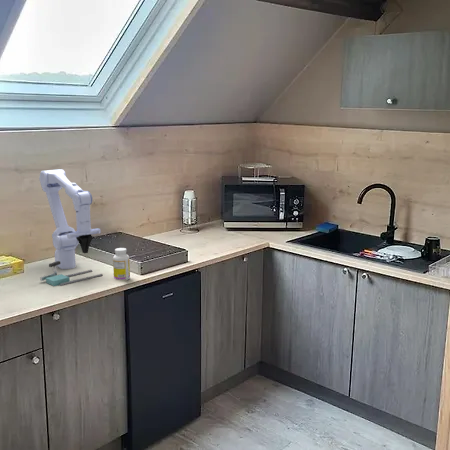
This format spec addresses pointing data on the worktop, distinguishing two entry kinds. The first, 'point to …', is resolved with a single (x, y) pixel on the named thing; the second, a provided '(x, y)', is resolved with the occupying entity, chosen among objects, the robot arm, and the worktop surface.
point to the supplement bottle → (121, 264)
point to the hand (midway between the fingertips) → (85, 252)
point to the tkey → (53, 270)
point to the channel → (80, 279)
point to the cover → (57, 280)
